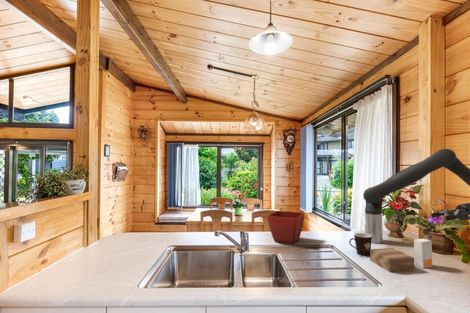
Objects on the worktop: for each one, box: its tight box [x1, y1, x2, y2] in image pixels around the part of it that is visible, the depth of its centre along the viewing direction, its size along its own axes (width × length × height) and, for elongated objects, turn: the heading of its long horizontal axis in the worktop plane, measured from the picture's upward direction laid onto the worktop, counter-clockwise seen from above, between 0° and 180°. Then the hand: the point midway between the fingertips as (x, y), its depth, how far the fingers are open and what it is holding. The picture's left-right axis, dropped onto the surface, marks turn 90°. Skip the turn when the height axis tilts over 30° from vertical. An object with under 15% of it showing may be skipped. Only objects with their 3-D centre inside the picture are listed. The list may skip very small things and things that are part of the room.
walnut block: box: [369, 247, 416, 273], centre depth 123 cm, size 14×12×6 cm
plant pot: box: [266, 210, 305, 245], centre depth 167 cm, size 19×19×17 cm
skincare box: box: [413, 238, 433, 269], centre depth 122 cm, size 6×4×12 cm
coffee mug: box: [348, 232, 372, 257], centre depth 140 cm, size 12×9×10 cm
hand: (438, 217), depth 124 cm, fingers open, 8 cm apart
